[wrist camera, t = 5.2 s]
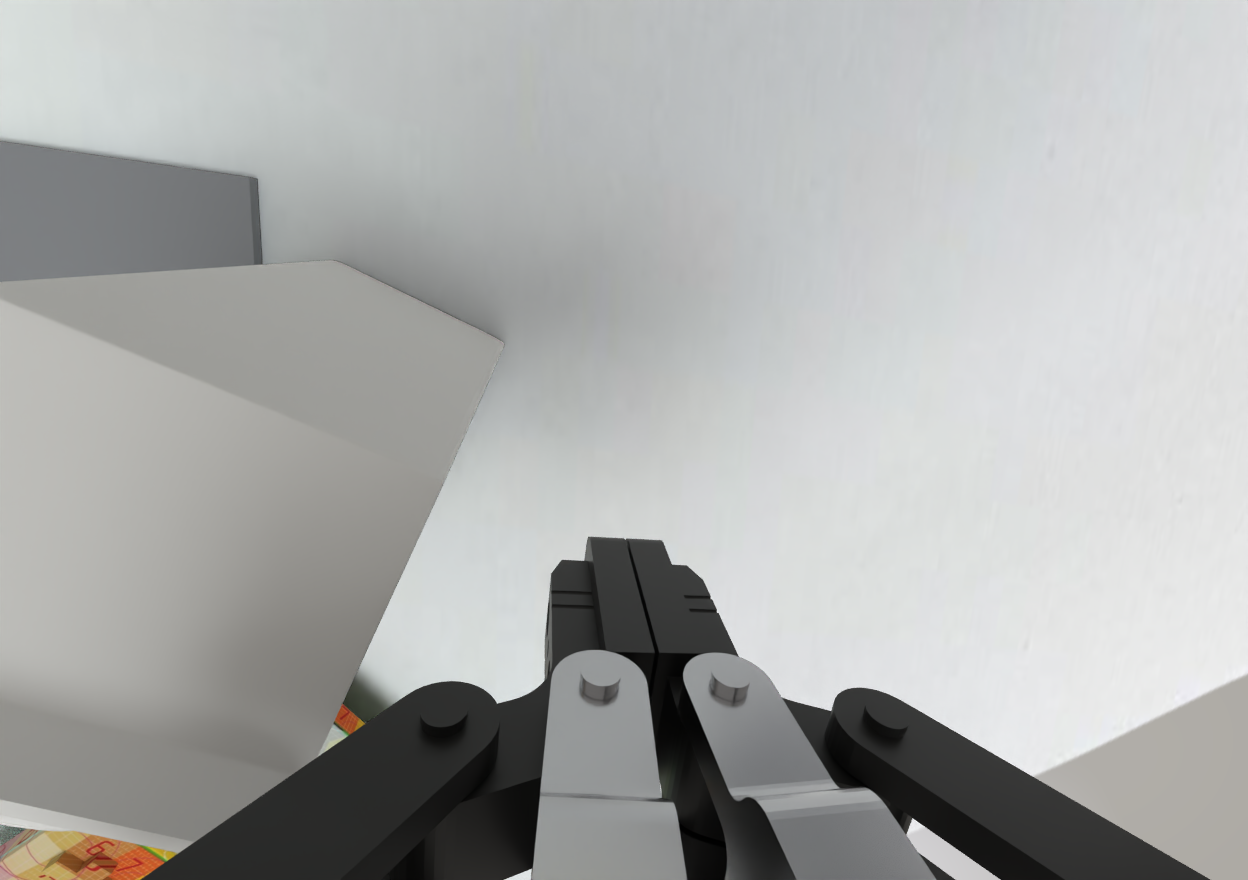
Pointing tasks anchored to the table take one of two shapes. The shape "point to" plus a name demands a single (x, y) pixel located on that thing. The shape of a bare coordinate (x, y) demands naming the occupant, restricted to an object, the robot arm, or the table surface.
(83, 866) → the puzzle game
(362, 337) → the milk carton
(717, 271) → the table surface
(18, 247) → the mat
